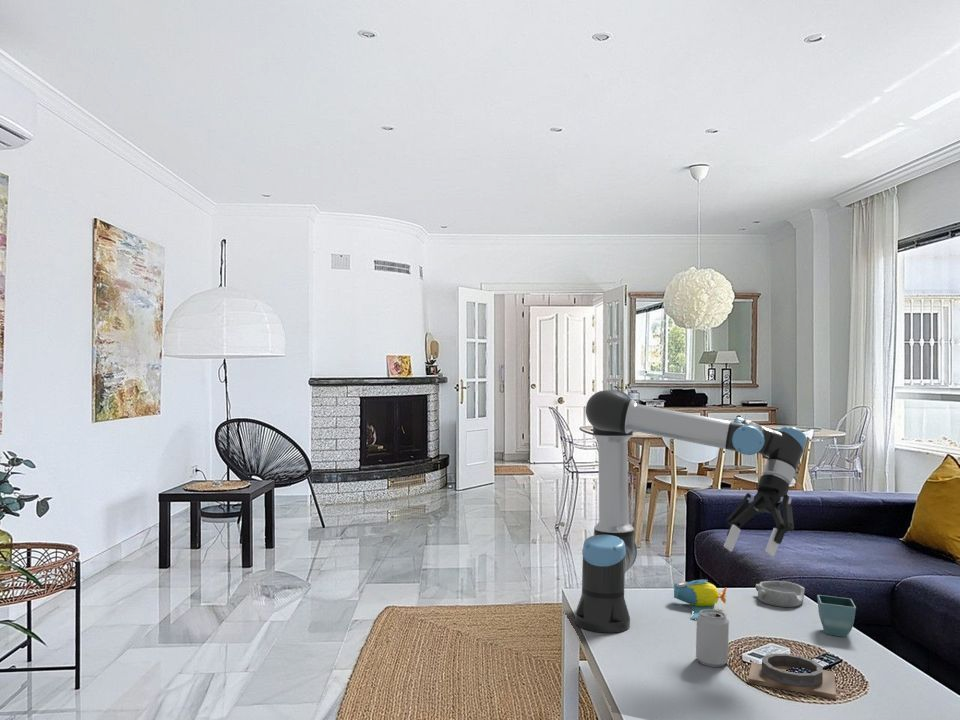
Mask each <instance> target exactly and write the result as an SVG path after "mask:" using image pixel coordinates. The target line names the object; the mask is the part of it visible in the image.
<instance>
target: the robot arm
mask: <svg viewBox="0 0 960 720" xmlns="http://www.w3.org/2000/svg"><path fill="white" fill-rule="evenodd" d="M585 417H586V418H587V421H588V423H590V425H591V426H592V432H593V433H592V436H593V437H594V438H595V439H596V441H597V443H598V446H597V447H598V450H597V451H598V523H596V525H594V528H593V535H591V536H589V537H587V538H585V540H584V541H583V545H582V546H583V547H582V550H581V554H582V567H581V568H582V571H581V572H582V576H581V579H582V580H581V595H580V598H579V601H578V604H577V607H576V609H575V613H574V623H575V624H576V625H577V626H578V627H580V628H582V629H583V630H587V631H591V632H596V633H607V634H608V633H609V634H610V633H611V634H612V633H620V632H624V631H627V630H628V629H630V627H631V616H630V612H629V609H628V606H627V603H626V600H625V579H626V578H625V576H626V575H625V574H626V573H627V572H628V571H629V570H630V568H632V567H633V565H634V564H635V562H636V559H637V555H638V546H637V544H636V541H635V528H634V527H633V526H632V525H631V524H630V521H629V462H628V461H629V456H628V455H629V454H628V453H629V450H628V449H629V448H628V442H629V440H630V439H631V438H632V437H633V435H634V432H635V433H637V432H638V433H641V434H647V435H652V436H657V437H662V438H667V439H673V440H678V441H684V442H689V443H691V444H692V443H693V444H697V445H704V446H709V447H712V448H718V449H724V450H728V451H732V452H738V453H739V454H741V455H745V456H753V455H755V454H759V455H761V456H764V457H767V461H766V463H765V465H764V468H763V469H762V473H761V476H760V477H759V480H758V483H757V486H756V489H757V492H756V494H754V495H752V494H750V493H749V492H747V493H746V494H745V495H744V498H743V500H742V501H741V502H740V503H739V504H738V505H737V506H736V507H735V508H734V510H733V511H732V512H731V513H730V515H729V516H728V517H726V519H725V521H726V523H727V524H728V525H729V528H728V531H727V532H726V533H727V534H726V539H725V542H724V544H723V547H724V548H725V549H726V550H728V551H729V552H733V551H734V548H735V546H736V543H737V540H738V539H739V536H740V533H741V531H742V530H741V527H742V526H743V525H745V524H746V523H748V522H749V521H750V520H751V519H752V518H753V517H754V516H756V515H759V514H760V513H762V514H764V513H768V514H771V516H772V517H773V518H772V519H773V520H774V524H775V527H772V528H773V529H772V532H771V533H770V537H769V539H768V540H767V541H768V542H767V544H766V546H765V547H766V548H765V549H764V551H765V552H766V553H767V554H768V555H769V556H770V557H771V558H772V557H773V558H775V555H776V552H777V550H778V547H779V545H780V544H781V543H782V542H783V539H784V537H785V534H786V533H788V532H791V533H792V532H794V530H795V525H794V516H793V504H794V499H793V498H792V497H791V496H789V494H788V493H789V491H790V486H791V484H792V482H793V479H794V477H795V474H796V470H797V469H798V466H799V464H800V461H801V459H802V456H803V454H804V451H805V448H806V445H807V436H806V434H805V433H804V432H802V430H800V429H798V428H796V427H793V426H792V427H790V426H782V427H780V429H779V430H778V431H777V430H774V429H771V428H768V427H766V426H763V425H761V424H759V423H756V422H753V421H752V420H750V419H746V418H743V417H740V416H736V417H735V418H734V419H733V421H730V420H725V419H721V418H715V417H709V416H703V415H698V414H695V413H694V414H692V413H689V412H683V411H679V410H678V411H677V410H671V409H667V408H666V409H665V408H661V407H655V406H649V405H646V404H645V405H644V404H639V403H637V402H636V400H635V399H633V398H631V396H629V395H628V394H627V393H625V392H624V391H623V390H622V391H621V390H619V389H607V390H606V389H605V390H599V391H597V392H595V393H593V394H592V395H591V396H590V397H589V398H588V400H587V402H586V406H585ZM780 506H781V508H782V509H781V510H782V512H781V510H780ZM781 513H782V514H781Z"/></svg>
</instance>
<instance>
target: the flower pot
mask: <svg viewBox="0 0 960 720" xmlns="http://www.w3.org/2000/svg"><path fill="white" fill-rule="evenodd" d="M816 597H817V609H818V616H819V620H820V623H821V625H822V628H823V631H824V633H825V634H826V635H828V636H829V635H830V636H836V637H837V636H838V637H842V638H844V637H845V638H847V637H848V635H850V633H851V632H852V630H853V627H854V622H855V618H856V617H855V616H856V610H857V606H856V605H855V603H854V601H853V599H852V598H848V597H841V596H839V597H838V596H831V595H822V594H817V595H816Z"/></svg>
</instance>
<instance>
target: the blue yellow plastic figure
mask: <svg viewBox="0 0 960 720" xmlns="http://www.w3.org/2000/svg"><path fill="white" fill-rule="evenodd" d="M721 591H722V592H720V593H719V591H718V588H717V587H716V585H714V583H711V582H708V581H707V580H706V579H696V580H695V579H693V580H690V581H688V580H687V581H681V582H678V583H676V582H675V583H674V586H673V598H674V599H677V600H679V601H681V602H684V603H686V604H690V605H692V607H693V610H692V609H691V611H694V613H693V614H694V615H693V616H692V617H691V616H690V617H689V618H690V619H689V620H690V621H692V620H694V619H696V620H695V621H697V616H698V615H699V614H700V611H701V610H704V609H712V610H715V605H716V604H717V603H718V602H719V599H720V600H721V601H722V603H724V604H727V603H726V602H727V599H726V598H727V594H726V593H727V587H725V588H724V589H722V590H721Z"/></svg>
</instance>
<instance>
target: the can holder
mask: <svg viewBox="0 0 960 720" xmlns="http://www.w3.org/2000/svg"><path fill="white" fill-rule="evenodd" d="M761 659H762V664H757V663H754V662H752V661H751V664H750V667H749V668H750V669H749V672H748V676H747V684H752V685H757V686H758V685H759V686H763V687H769V688H772V689H773V688H774V689H779V690H783V689H784V691H789V690H790V692H794V691H795V693H799V692H801V693H800V694H805V693H806V694H807V695H810V696H811V695H812V696H817V697H822V698H827V699H832V700H837V691H836V690H837V689H836V676H835V671H831V670H827V669H823V668H824V667H823V666H822V665H821V664H819V663H818V662H816V661H815V660H813V659H809V658H807V657H804V656H801V655H795V654H789V653H769V654H767V655H766V654H765V655H763V656H762V658H761ZM792 667H802V668H805V669H808V670H810V671H811V673H793V672H788V671H786V670H788V669H790V668H792Z"/></svg>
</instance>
